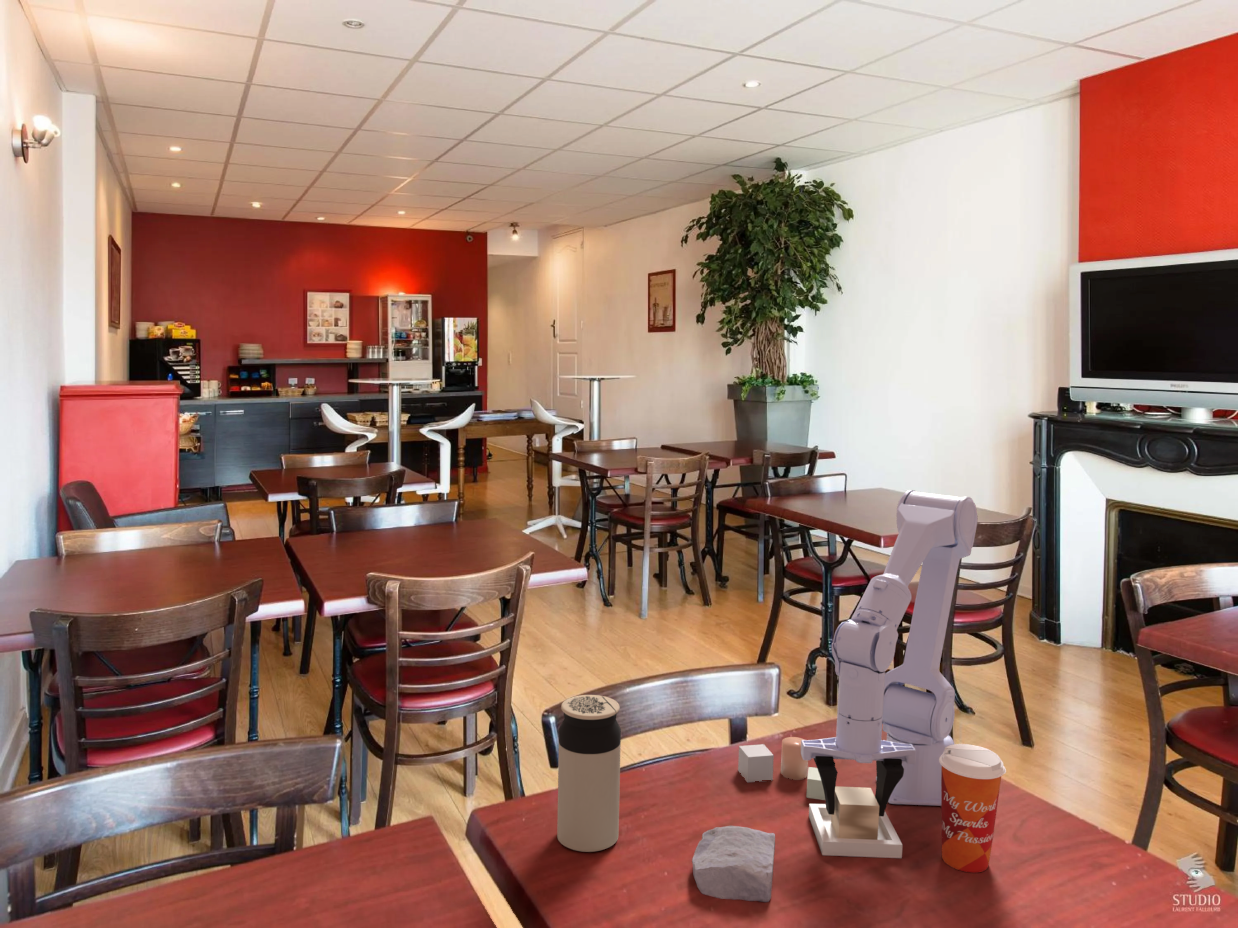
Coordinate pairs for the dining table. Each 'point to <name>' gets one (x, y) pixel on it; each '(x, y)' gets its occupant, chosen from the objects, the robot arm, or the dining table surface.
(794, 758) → the terracotta cylinder
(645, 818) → the dining table surface
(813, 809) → the white square tray
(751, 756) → the grey block
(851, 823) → the beech cube
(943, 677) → the robot arm
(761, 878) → the stone block
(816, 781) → the sage block
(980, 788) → the paper cup
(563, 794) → the travel mug
